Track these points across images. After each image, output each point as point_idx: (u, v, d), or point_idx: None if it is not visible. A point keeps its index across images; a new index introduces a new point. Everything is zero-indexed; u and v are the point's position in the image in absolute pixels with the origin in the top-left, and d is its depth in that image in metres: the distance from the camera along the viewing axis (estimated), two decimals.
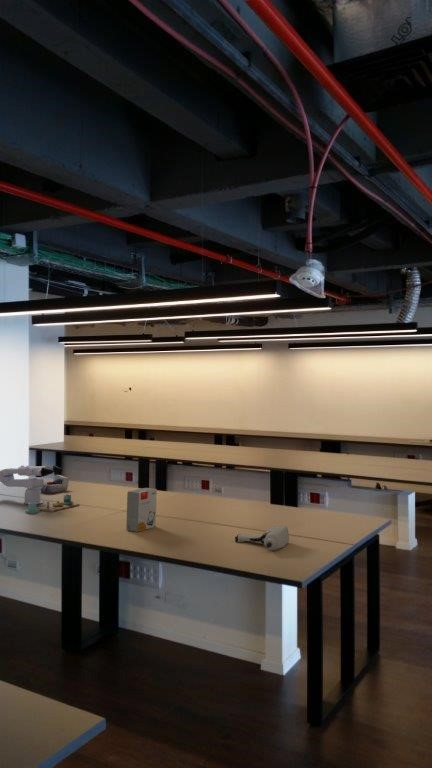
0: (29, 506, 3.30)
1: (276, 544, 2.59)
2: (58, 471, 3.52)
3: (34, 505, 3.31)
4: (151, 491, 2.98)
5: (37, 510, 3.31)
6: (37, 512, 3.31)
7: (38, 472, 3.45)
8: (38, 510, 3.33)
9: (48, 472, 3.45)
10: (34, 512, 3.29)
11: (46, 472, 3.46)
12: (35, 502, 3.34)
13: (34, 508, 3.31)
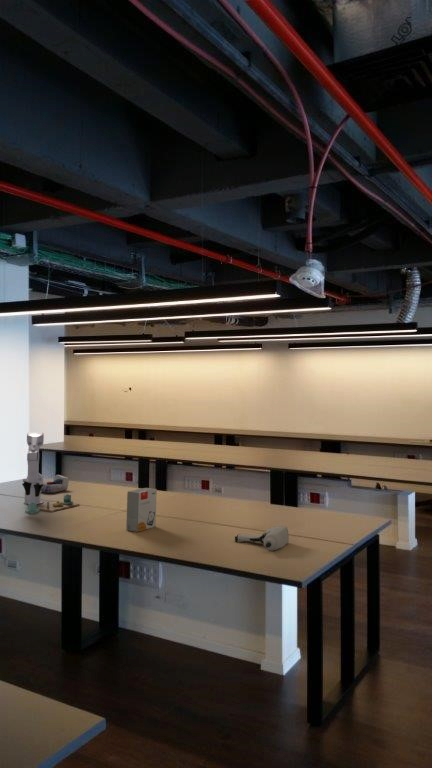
0: (29, 506, 3.30)
1: (275, 544, 2.59)
2: None
3: (34, 505, 3.31)
4: (151, 491, 2.98)
5: (37, 510, 3.31)
6: (37, 512, 3.31)
7: None
8: (38, 510, 3.33)
9: None
10: (34, 512, 3.29)
11: None
12: (35, 502, 3.34)
13: (34, 508, 3.31)
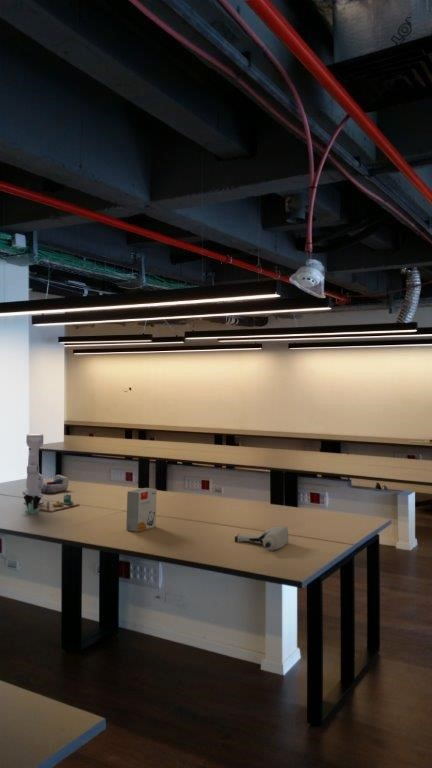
0: (29, 506, 3.30)
1: (275, 544, 2.59)
2: None
3: None
4: (151, 491, 2.98)
5: (37, 510, 3.31)
6: (37, 512, 3.31)
7: None
8: (38, 510, 3.33)
9: None
10: (34, 512, 3.29)
11: None
12: None
13: None
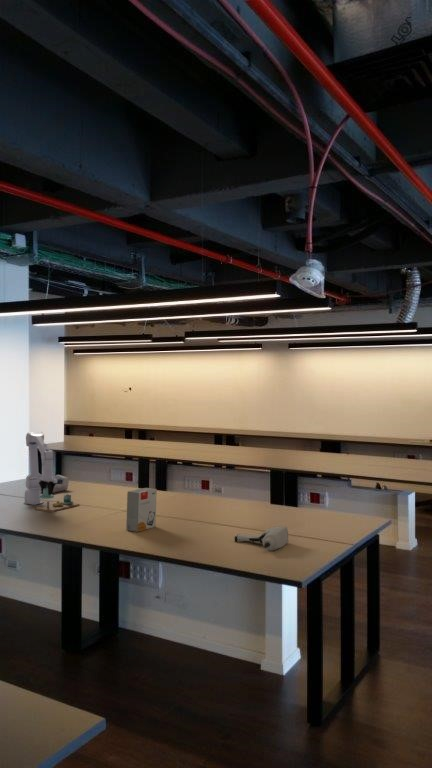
0: (44, 491, 3.36)
1: (274, 544, 2.59)
2: None
3: None
4: (151, 491, 2.98)
5: (52, 495, 3.37)
6: (52, 497, 3.37)
7: None
8: (53, 496, 3.39)
9: None
10: (49, 497, 3.35)
11: None
12: None
13: None
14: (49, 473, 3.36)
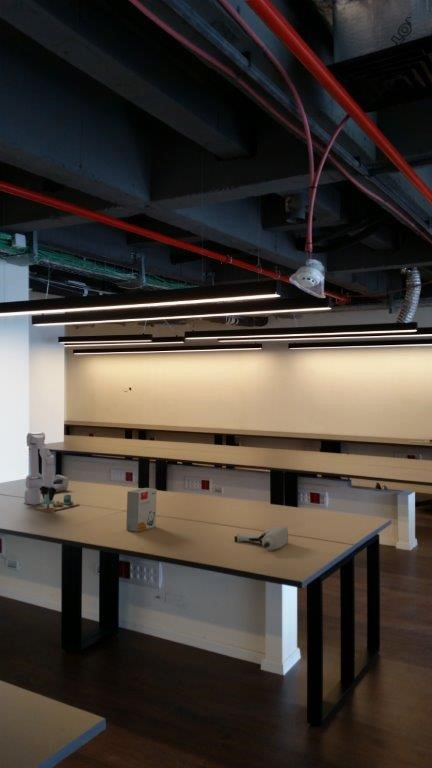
0: (45, 497, 3.37)
1: (274, 544, 2.59)
2: None
3: None
4: (151, 491, 2.98)
5: (53, 501, 3.38)
6: None
7: None
8: (54, 501, 3.39)
9: None
10: (50, 503, 3.36)
11: None
12: None
13: None
14: (50, 479, 3.37)
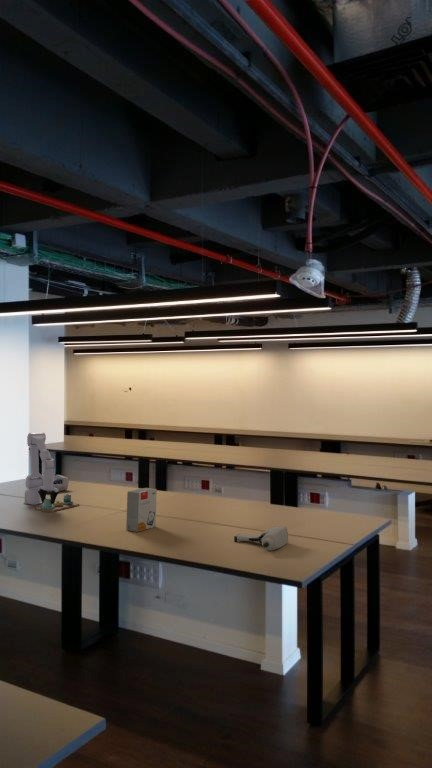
0: (45, 502, 3.37)
1: (273, 544, 2.59)
2: None
3: (50, 501, 3.37)
4: (151, 491, 2.98)
5: (53, 506, 3.38)
6: None
7: None
8: (54, 506, 3.39)
9: None
10: (50, 508, 3.36)
11: None
12: None
13: (50, 504, 3.37)
14: (50, 482, 3.37)
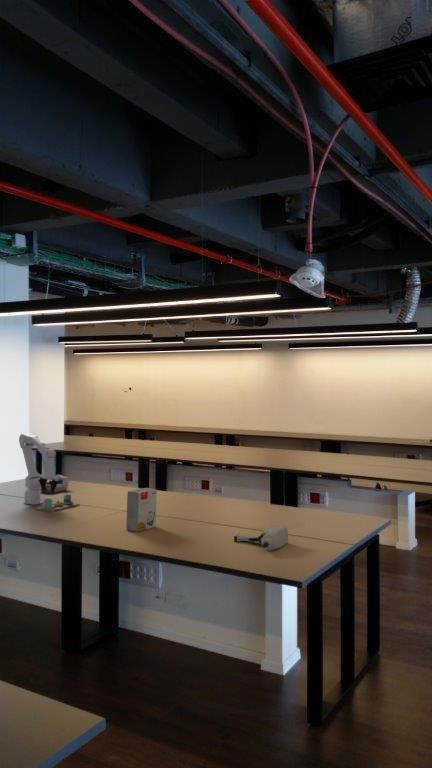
0: (45, 502, 3.37)
1: (273, 544, 2.59)
2: None
3: (50, 501, 3.37)
4: (151, 491, 2.98)
5: (53, 506, 3.38)
6: None
7: None
8: (54, 506, 3.39)
9: None
10: (50, 508, 3.36)
11: None
12: None
13: (50, 504, 3.37)
14: (50, 471, 3.44)
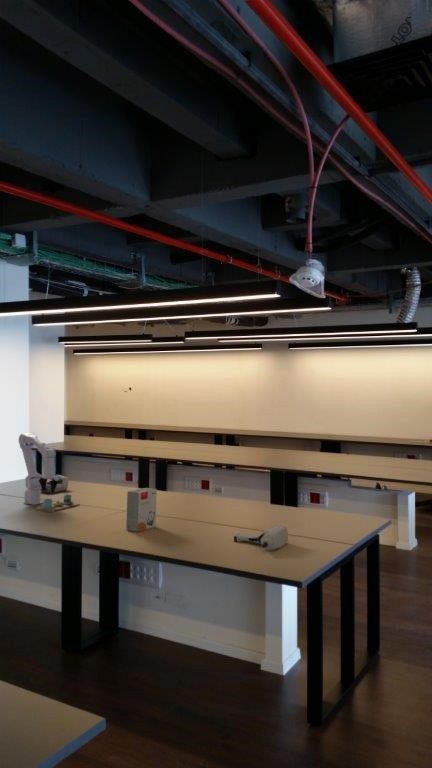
0: (45, 502, 3.37)
1: (272, 544, 2.59)
2: None
3: (50, 501, 3.37)
4: (151, 491, 2.98)
5: (53, 506, 3.38)
6: None
7: None
8: (54, 506, 3.39)
9: None
10: (50, 508, 3.36)
11: None
12: None
13: (50, 504, 3.37)
14: (50, 471, 3.45)
